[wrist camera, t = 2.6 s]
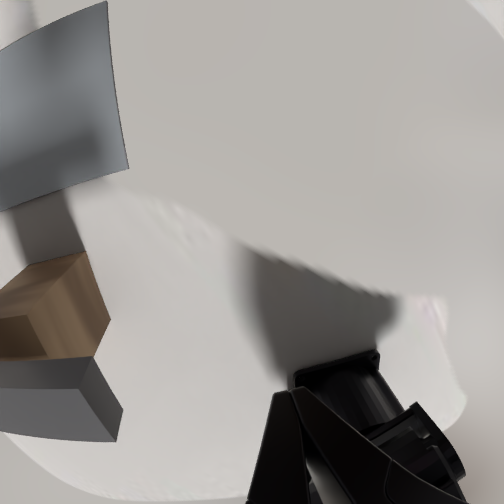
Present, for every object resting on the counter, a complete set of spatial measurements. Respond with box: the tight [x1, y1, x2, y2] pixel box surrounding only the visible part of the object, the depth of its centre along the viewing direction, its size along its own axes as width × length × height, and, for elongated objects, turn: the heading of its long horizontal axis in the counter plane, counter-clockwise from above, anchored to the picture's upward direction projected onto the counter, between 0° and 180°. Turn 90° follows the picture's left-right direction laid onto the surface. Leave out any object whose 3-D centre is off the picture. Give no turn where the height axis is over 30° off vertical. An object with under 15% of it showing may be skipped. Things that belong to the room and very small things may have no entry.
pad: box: [0, 1, 129, 212], centre depth 12 cm, size 12×10×1 cm
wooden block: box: [0, 251, 111, 361], centre depth 13 cm, size 4×4×7 cm
